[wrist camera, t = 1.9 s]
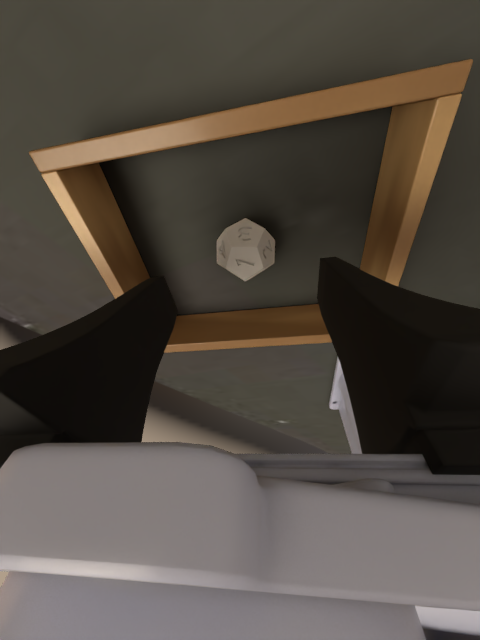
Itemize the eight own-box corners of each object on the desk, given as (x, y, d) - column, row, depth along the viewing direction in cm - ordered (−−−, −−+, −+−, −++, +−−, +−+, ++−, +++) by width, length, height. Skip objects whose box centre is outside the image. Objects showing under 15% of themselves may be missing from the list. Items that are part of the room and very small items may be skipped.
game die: (263, 273, 16) (264, 296, 14) (213, 258, 16) (205, 280, 14) (283, 224, 14) (288, 243, 12) (225, 205, 14) (219, 220, 11)
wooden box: (362, 307, 18) (380, 339, 15) (162, 324, 20) (147, 354, 17) (416, 76, 10) (476, 57, 7) (77, 146, 12) (26, 151, 10)
